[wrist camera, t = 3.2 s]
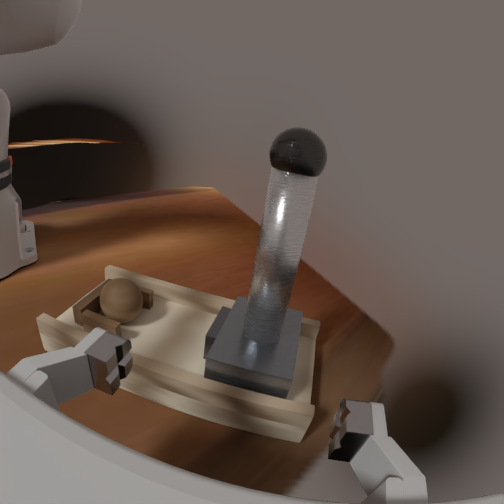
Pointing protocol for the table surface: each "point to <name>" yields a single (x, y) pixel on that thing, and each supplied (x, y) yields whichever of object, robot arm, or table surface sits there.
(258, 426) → the press base
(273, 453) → the table surface
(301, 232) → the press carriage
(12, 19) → the robot arm
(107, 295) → the walnut
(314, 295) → the table surface
